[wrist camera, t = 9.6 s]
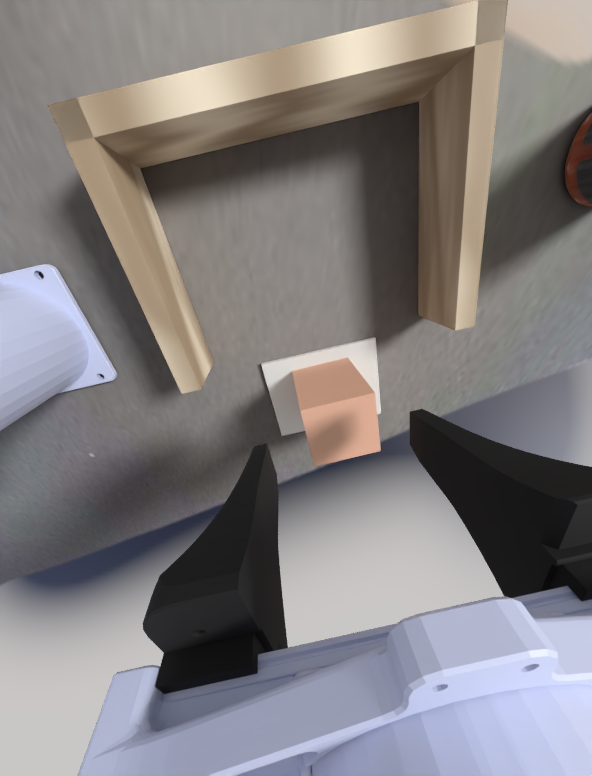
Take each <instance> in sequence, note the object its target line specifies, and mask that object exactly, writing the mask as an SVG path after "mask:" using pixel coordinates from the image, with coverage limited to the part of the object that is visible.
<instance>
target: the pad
mask: <svg viewBox="0 0 592 776" xmlns="http://www.w3.org/2000/svg"><path fill="white" fill-rule="evenodd" d="M347 357H348V358H349V360H350V361H351V362H352V364H353V365H354V366H355V367H356V369H357V370H358V371H359V373H360V374H361V375H362V376H363V378H364V379H365V380H366V382H367V383H368V384H369V386H370V387H371V388H372V389H373V391H374V392H375V397H376V408H377V414H381V407H380V393H379V380H378V366H377V352H376V338H375V337H373V338H368V339H364V340H360V341H355V342H351V343H347V344H342V345H338V346H334V347H329V348H325V349H321V350H316V351H312V352H308V353H303V354H299V355H295V356H290V357H286V358H282V359H278V360H273V361H269V362H265V363H261V366H262V369H263V373H264V376H265V379H266V383H267V386H268V390H269V393H270V397H271V400H272V404H273V407H274V410H275V414H276V417H277V421H278V424H279V428H280V431H281V435H282V436H284V435H289V434H293V433H297V432H302V431H305V427H304V423H303V419H302V415H301V411H300V407H299V402H298V397H297V392H296V388H295V383H294V378H293V373H292V371H294V370H298V369H302V368H306V367H310V366H315V365H319V364H323V363H327V362H331V361H335V360H339V359H343V358H347Z"/></svg>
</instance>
